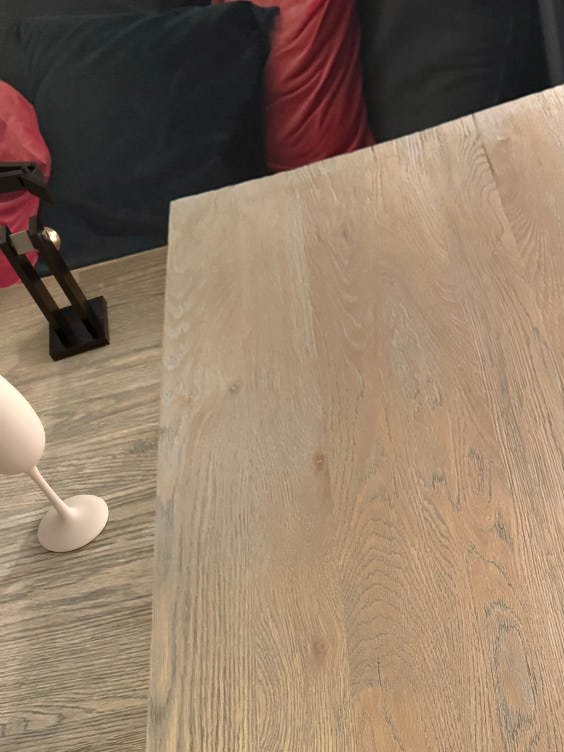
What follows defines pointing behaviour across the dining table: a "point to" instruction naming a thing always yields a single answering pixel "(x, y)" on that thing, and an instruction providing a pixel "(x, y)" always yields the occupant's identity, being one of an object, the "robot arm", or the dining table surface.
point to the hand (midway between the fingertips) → (12, 220)
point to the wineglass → (21, 454)
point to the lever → (25, 243)
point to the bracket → (66, 325)
